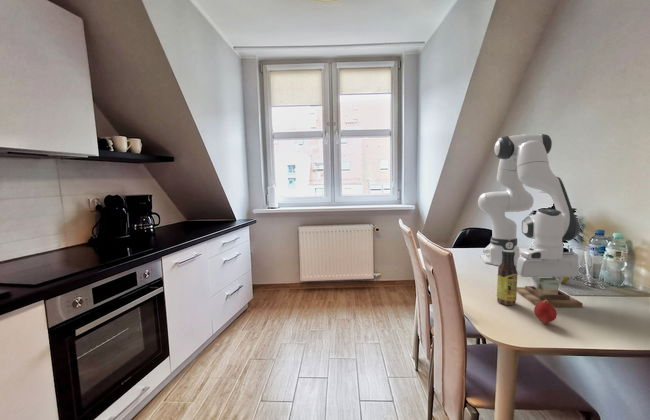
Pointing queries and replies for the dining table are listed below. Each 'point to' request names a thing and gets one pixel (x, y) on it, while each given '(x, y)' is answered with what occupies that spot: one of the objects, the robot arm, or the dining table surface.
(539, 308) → the red bumpy ovoid
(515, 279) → the sauce bottle
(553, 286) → the block
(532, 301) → the socket board
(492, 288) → the dining table surface
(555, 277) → the lemon
